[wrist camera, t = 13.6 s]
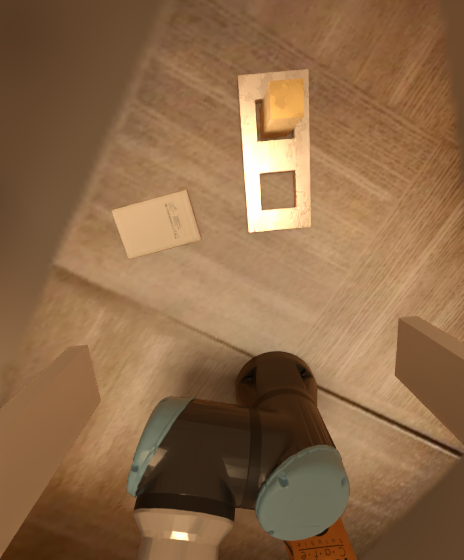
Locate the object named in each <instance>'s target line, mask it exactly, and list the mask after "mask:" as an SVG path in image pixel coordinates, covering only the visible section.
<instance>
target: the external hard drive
mask: <svg viewBox="0 0 464 560" xmlns="http://www.w3.org/2000/svg"><path fill="white" fill-rule="evenodd" d="M112 214H113V217H114V220H115V223H116V225H117V228H118V231H119V234H120V236H121V239H122V242H123V245H124V247H125V250H126V253H127V255H128V258H129V259H131V258H135V257H139V256H143V255H146V254H150V253H154V252H158V251H161V250H165V249H169V248H173V247H176V246H180V245H184V244H188V243H191V242H195V241H199V240H201V237H200V233H199V230H198V226H197V223H196V220H195V217H194V213H193V209H192V205H191V202H190V198H189V195H188V191H187V190H184V191H180V192H177V193H173V194H169V195H165V196H162V197H158V198H154V199H151V200H147V201H143V202H140V203H136V204H132V205H129V206H125V207H121V208H118V209H114V210H112Z"/></svg>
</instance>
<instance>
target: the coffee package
mask: <svg viewBox="0 0 464 560" xmlns="http://www.w3.org/2000/svg"><path fill="white" fill-rule="evenodd" d="M284 543H285V546H286V549H287V551H288V555H289V559H290V560H357V559H356V556H355V554H354V552H353V549H352V547H351V544H350V541H349V538H348V536H347V533H346V531H345V529H344V526H343V523H342V520H341V519H340V517H339V519H338V520H337V521H336V522H335V523H334V524H333V525H331V526H330V527H328V528H327V529H325V530H324V531H323V532H321V533H319V534H317V535H315V536H313V537H310V538H307V539H303V540H295V541H287V540H284Z"/></svg>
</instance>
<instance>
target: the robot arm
mask: <svg viewBox="0 0 464 560" xmlns="http://www.w3.org/2000/svg"><path fill="white" fill-rule="evenodd" d="M395 376H396V377H397V378H398V379H399V380H400V381H401V382H402V383H403V384H404V385H405V386H406V387H407V388H408V389H409V390H410V391H411V392H412V393H413V394H414V395H415V396H416V397H417V398H418V399H419V400H420V401H421V402H422V403H423V404H424V405H425V406H426V407H427V408H428V409H429V410H430V411H431V412H432V413H433V414H434V415H435V416H436V417H437V418H438V419H439V420H440V421H441V422H442V423H443V424H444V425H445V426H446V427H447V428H448V429H449V430H450V431H451V432H452V433H453V434H454V435H455V436H456V437H457V438H458V439H459V440H460V441H461V442H462V443H463V444H464V343H463V342H461V341H459V340H457V339H456V338H454V337H452V336H451V335H449V334H447V333H445V332H444V331H442V330H440V329H438V328H437V327H435V326H433V325H432V324H430V323H428V322H426V321H425V320H423V319H421V318H419V317H418V316H413V317H402V318H399V323H398V337H397V352H396V367H395ZM236 399H237V403H238V405H233V404H226V403H220V402H214V401H208V400H201V399H196V398H195V397H190V398H183V397H173V396H170V397H166V398H164V399H162V400H161V401H160V402H159V403H158V404H157V406H156V407H155V409H154V410H153V412H152V414H151V416H150V418H149V420H148V422H147V424H146V426H145V428H144V431H143V433H142V436H141V438H140V441H139V444H138V446H137V449H136V452H135V455H134V458H133V461H134V462H133V464H132V466H131V470H130V472H129V476H128V480H127V491H128V493H129V494H131V495H132V497H136V496H137V499H136V503H135V507H134V511H133V517H134V519H135V521H136V523H137V526H138V528H139V530H140V534H141V541H140V545H139V550H138V554H137V558H136V560H218V553H219V546H220V544H221V542H222V540H223V539H224V538H225V536H226V535H227V534H228V533H229V532H230V530H231V529H232V528H233V527H234V516H235V508H244V509H251V510H256V516H257V519H258V520H259V523H260V525H261V527H262V528H263V529H264V530H265V531H266V532H267V531H268V533H269V535H271V536H272V537H274V538H277V539H281V540H287V541H295V540H303V539H307V538H310V537H313V536H315V535H317V534H319V533H321V532H323V531H324V530H325V529H327V528H328V527H330V526H331V525H333V524H334V523H335V522H336V521H337V520H338V519H339V517H340V516H341V515H342V513H343V511H344V510H345V508H346V505H347V503H348V499H349V493H350V488H349V480H348V477H347V474H346V471H345V469H344V466H343V463H342V458H341V455H340V453H339V452H338V450H337V449H336V447H335V445H334V443H333V441H332V438H331V436H330V434H329V432H328V430H327V428H326V425H325V423H324V421H323V419H322V417H321V415H320V412H319V410H318V408H317V385H316V381H315V378H314V376H313V374H312V372H311V370H310V368H309V367H308V366H307V364H306V363H305V362H304V361H303V360H301V359H300V358H298V357H297V356H294V355H292V354H289V353H285V352H269V353H265V354H261V355H259V356H257V357H255V358H253V359H252V360H250V361H249V362H248V363H247V364H246V365H245V366H244V367H243V368H242V370H241V371H240V373H239V375H238V378H237V381H236ZM100 402H101V399H100V395H99V391H98V386H97V382H96V378H95V374H94V370H93V365H92V361H91V357H90V353H89V349H88V345H83V346H72V347H69V348H68V349H66V350H65V351H64V352H63V353H62V354H61V355H60V356H59V357H57V358H56V359H55V360H54V361H53V362H52V363H51V364H50V365H49V366H47V367H46V368H45V369H44V370H43V371H42V372H41V373H40V374H39V375H37V376H36V377H35V378H34V379H33V380H32V381H31V382H30V383H28V384H27V385H26V386H25V387H24V388H23V389H22V390H21V391H20V392H18V393H17V394H16V395H15V396H14V397H13V398H12V399H11V400H10V401H8V402H7V403H6V404H5V405H4V406H3V407H2V408H1V409H0V557H1V556H2V554H3V553H4V551H5V549H6V548H7V546H8V545H9V543H10V542H11V540H12V539H13V537H14V535H15V534H16V532H17V531H18V529H19V528H20V526H21V525H22V523H23V521H24V520H25V518H26V517H27V515H28V514H29V512H30V511H31V509H32V507H33V506H34V504H35V503H36V501H37V500H38V498H39V497H40V495H41V494H42V492H43V490H44V489H45V487H46V486H47V484H48V483H49V481H50V480H51V478H52V476H53V475H54V473H55V472H56V470H57V469H58V467H59V466H60V464H61V462H62V461H63V459H64V458H65V456H66V455H67V453H68V452H69V450H70V448H71V447H72V445H73V444H74V442H75V441H76V439H77V438H78V436H79V434H80V433H81V431H82V430H83V428H84V427H85V425H86V424H87V422H88V420H89V419H90V417H91V416H92V414H93V413H94V411H95V410H96V408H97V406H98V405H99V403H100Z"/></svg>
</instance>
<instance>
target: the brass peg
mask: <svg viewBox="0 0 464 560" xmlns="http://www.w3.org/2000/svg"><path fill="white" fill-rule="evenodd" d="M303 117H304V78H300V79H288V80H276V81H269V83H268V86H267V89H266V92H265V95H264V98H263V101H262V104H261V107H260V129H261V139H262V138H274V137H286V136H288V135H289V133H290V132H291V131H292V130H293V129H294V128H295V126H296V125H297V124H298V123H299V122H300V121H301V120H302V118H303Z"/></svg>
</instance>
